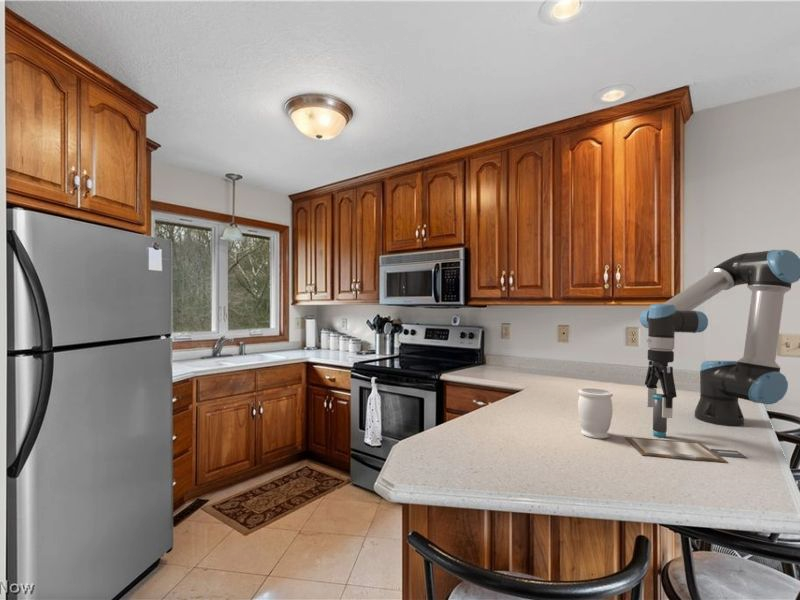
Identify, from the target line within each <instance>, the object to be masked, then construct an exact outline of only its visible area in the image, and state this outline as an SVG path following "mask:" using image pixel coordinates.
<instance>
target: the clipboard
mask: <svg viewBox="0 0 800 600" xmlns="http://www.w3.org/2000/svg"><path fill="white" fill-rule="evenodd" d="M625 439H626V441H628V442H629V444H631V445H632V446H633V448H634V449H635V450H636V451H637V452H638V453H639V454H640V455H641V456H643V457H653V458H655V457H656V458H664V459H665V458H666V459H677V460H689V461H697V462H698V461H700V462H709V463H710V462H712V463H724V464H728V463H729V462H728V461H727V460H726V459H725V458H724V457H723V456H719V455H717V454H716V453H715V452H713V451H712V450H711V448H709V447H708V446H706V445H705V444H703V443H702V442H698V441H697V442H696V441H688V440H687V441H685V440H684V441H683V440H674V439H673V440H672V439H662V438H646V437H633V436H625Z"/></svg>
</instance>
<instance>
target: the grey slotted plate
mask: <svg viewBox="0 0 800 600" xmlns="http://www.w3.org/2000/svg"><path fill="white" fill-rule="evenodd" d="M710 450H712V451H713V452H715V453H716V454H717V455H719V456H720V457H727V458H740V459H747V458H748V457H747V455H744V454H743V453H742V452H739V451H738V450H732V449H731V450H729V449H719V448H710Z"/></svg>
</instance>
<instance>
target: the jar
mask: <svg viewBox="0 0 800 600" xmlns="http://www.w3.org/2000/svg"><path fill="white" fill-rule="evenodd" d="M577 391H578V394H579V397H578V401H577V412H578V418H579V423H580V426H581V431H580V433H581V434H582V435H583V436H585V437H587V438H592V439H598V440H600V439H603V440H605V439H607V438H609V437H610V436H609V433H608V431H609V429H610V428H611V424H612V423H611V422H612V419H613V410H614V409H613V402H612V401H613V400H612V397H613V392H612V391H609V390H605V389H601V388H600V389H599V388H592V387H591V388H590V387H585V388H578V389H577Z"/></svg>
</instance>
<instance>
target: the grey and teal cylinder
mask: <svg viewBox="0 0 800 600" xmlns="http://www.w3.org/2000/svg"><path fill="white" fill-rule="evenodd" d="M662 395H664V394H663V393H656V394H653V407H652V430H653V434H652V435H653V437H656V438H658V439H665V438H667V430H668V429H667V428H668V424H667V423H668V418H664V417H662V401H663V397H662Z"/></svg>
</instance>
